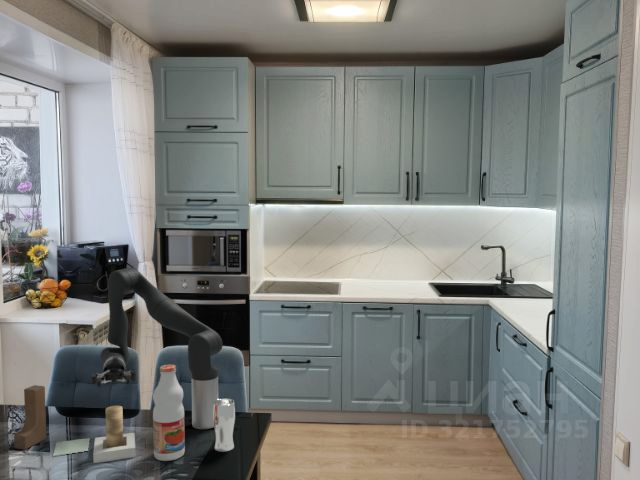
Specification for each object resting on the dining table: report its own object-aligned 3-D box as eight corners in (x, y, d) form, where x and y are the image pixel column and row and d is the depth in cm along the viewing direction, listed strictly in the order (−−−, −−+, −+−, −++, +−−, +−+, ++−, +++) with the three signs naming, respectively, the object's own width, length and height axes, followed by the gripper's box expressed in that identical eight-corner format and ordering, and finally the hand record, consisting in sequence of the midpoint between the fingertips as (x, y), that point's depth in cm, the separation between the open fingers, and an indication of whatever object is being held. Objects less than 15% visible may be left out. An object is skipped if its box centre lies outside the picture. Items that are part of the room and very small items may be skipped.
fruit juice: (167, 446, 174) (165, 360, 173) (191, 451, 171) (189, 364, 169) (147, 458, 166) (145, 368, 164) (171, 464, 162) (170, 372, 160)
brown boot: (25, 450, 171) (23, 394, 170) (13, 448, 173) (11, 393, 172) (46, 438, 180) (45, 385, 179) (36, 437, 181) (34, 384, 180)
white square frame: (134, 441, 178) (134, 432, 178) (135, 457, 167) (135, 447, 166) (95, 446, 174) (95, 437, 174) (93, 463, 163) (93, 453, 162)
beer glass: (239, 444, 175) (238, 399, 174) (228, 453, 169) (228, 407, 168) (220, 441, 178) (219, 397, 177) (209, 450, 171) (208, 404, 170)
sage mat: (89, 439, 180) (89, 437, 180) (88, 451, 170) (88, 450, 170) (56, 443, 176) (56, 442, 176) (53, 456, 167) (53, 455, 167)
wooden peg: (123, 447, 173) (122, 404, 173) (123, 454, 169) (122, 410, 168) (106, 449, 172) (105, 406, 171) (106, 456, 167) (105, 412, 166)
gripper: (92, 360, 193) (90, 374, 177) (135, 357, 197) (136, 370, 182) (93, 380, 193) (90, 396, 178) (135, 377, 198) (136, 391, 183)
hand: (113, 383), depth 180 cm, fingers open, 8 cm apart
